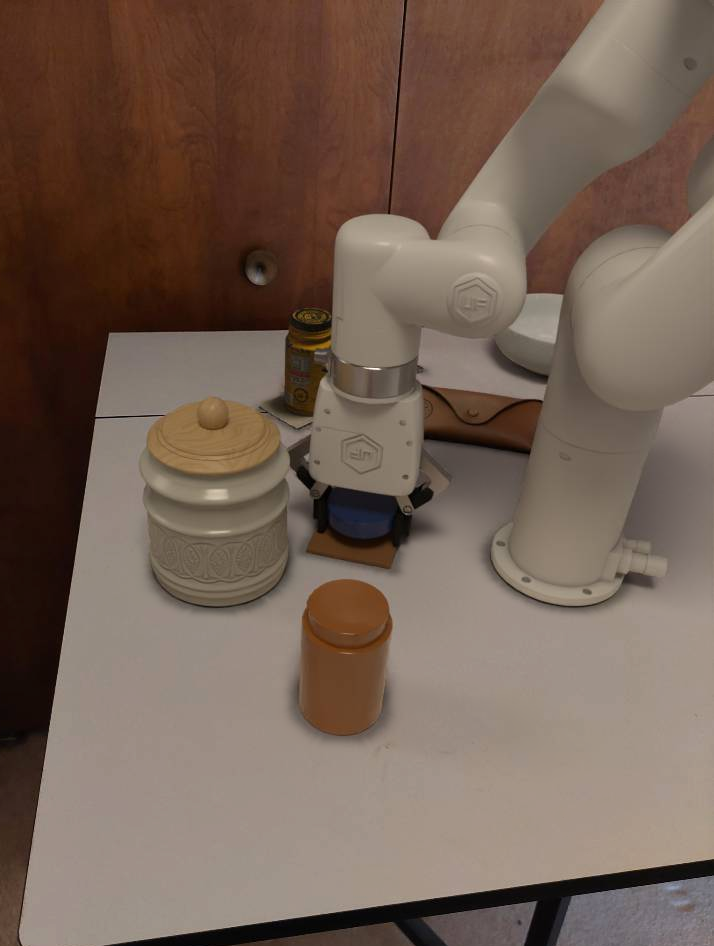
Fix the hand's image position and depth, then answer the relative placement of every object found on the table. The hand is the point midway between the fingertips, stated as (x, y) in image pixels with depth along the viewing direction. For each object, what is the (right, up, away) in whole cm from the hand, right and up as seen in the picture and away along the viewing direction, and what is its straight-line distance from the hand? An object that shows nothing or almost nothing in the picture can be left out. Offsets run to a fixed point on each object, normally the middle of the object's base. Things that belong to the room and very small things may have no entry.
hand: (361, 530), depth 80 cm
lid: (0, +2, -2) cm, 3 cm away
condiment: (-6, +16, +21) cm, 27 cm away
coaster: (0, -1, +1) cm, 1 cm away
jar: (-14, -3, -4) cm, 15 cm away
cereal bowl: (+28, +24, +32) cm, 49 cm away
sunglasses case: (+14, +12, +18) cm, 26 cm away
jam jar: (-3, -14, -17) cm, 22 cm away
